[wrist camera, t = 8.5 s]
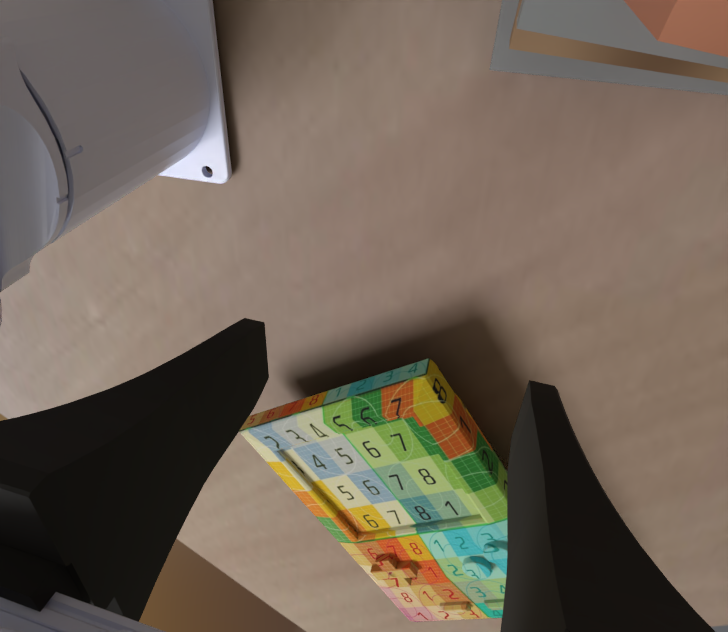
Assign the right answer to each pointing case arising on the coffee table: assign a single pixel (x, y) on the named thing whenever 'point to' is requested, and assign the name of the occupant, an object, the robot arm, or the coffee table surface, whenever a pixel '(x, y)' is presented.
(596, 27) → the tower top slab
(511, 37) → the tower middle slab
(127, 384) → the robot arm
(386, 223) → the coffee table surface
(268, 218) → the coffee table surface
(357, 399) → the puzzle game
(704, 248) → the coffee table surface
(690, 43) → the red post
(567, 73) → the tower base slab
